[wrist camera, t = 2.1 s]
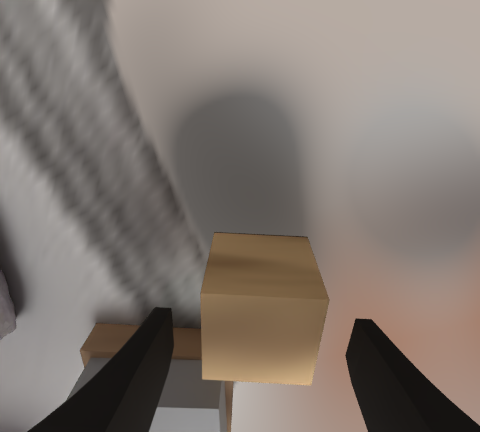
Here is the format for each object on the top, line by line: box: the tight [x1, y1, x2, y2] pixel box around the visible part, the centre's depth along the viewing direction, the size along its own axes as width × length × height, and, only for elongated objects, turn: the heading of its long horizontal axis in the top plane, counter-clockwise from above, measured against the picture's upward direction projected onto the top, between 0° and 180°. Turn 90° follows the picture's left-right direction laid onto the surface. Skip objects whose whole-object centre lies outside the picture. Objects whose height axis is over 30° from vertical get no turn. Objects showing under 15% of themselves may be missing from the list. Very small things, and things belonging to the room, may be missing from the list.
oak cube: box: [200, 232, 329, 385], centre depth 14 cm, size 4×4×4 cm
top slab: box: [66, 358, 227, 432], centre depth 16 cm, size 7×7×2 cm
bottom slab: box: [80, 323, 233, 432], centre depth 18 cm, size 8×8×2 cm
